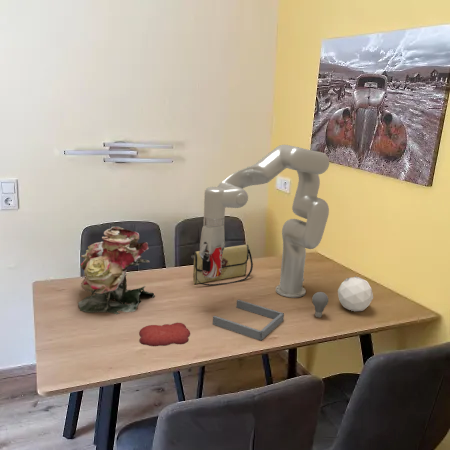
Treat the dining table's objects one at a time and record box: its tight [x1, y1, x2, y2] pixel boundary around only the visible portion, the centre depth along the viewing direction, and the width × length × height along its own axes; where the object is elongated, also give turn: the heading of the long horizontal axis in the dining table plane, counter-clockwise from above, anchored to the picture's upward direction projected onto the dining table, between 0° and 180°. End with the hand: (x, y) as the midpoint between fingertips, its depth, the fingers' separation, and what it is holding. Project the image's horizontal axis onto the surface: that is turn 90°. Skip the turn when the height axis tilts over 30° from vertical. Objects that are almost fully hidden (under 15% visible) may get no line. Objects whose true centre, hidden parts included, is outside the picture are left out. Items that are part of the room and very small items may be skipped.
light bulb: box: [311, 291, 329, 318], centre depth 175 cm, size 6×6×10 cm
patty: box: [138, 322, 191, 347], centre depth 158 cm, size 18×14×2 cm
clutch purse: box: [191, 243, 254, 286], centre depth 204 cm, size 30×7×15 cm, turn 120°
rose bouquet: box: [77, 225, 156, 315], centre depth 177 cm, size 26×29×30 cm
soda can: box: [203, 245, 222, 278], centre depth 172 cm, size 7×7×12 cm
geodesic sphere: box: [337, 275, 374, 312], centre depth 183 cm, size 14×14×14 cm
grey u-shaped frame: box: [212, 299, 285, 341], centre depth 169 cm, size 18×20×3 cm
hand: (212, 267), depth 173 cm, fingers closed on soda can, 7 cm apart
